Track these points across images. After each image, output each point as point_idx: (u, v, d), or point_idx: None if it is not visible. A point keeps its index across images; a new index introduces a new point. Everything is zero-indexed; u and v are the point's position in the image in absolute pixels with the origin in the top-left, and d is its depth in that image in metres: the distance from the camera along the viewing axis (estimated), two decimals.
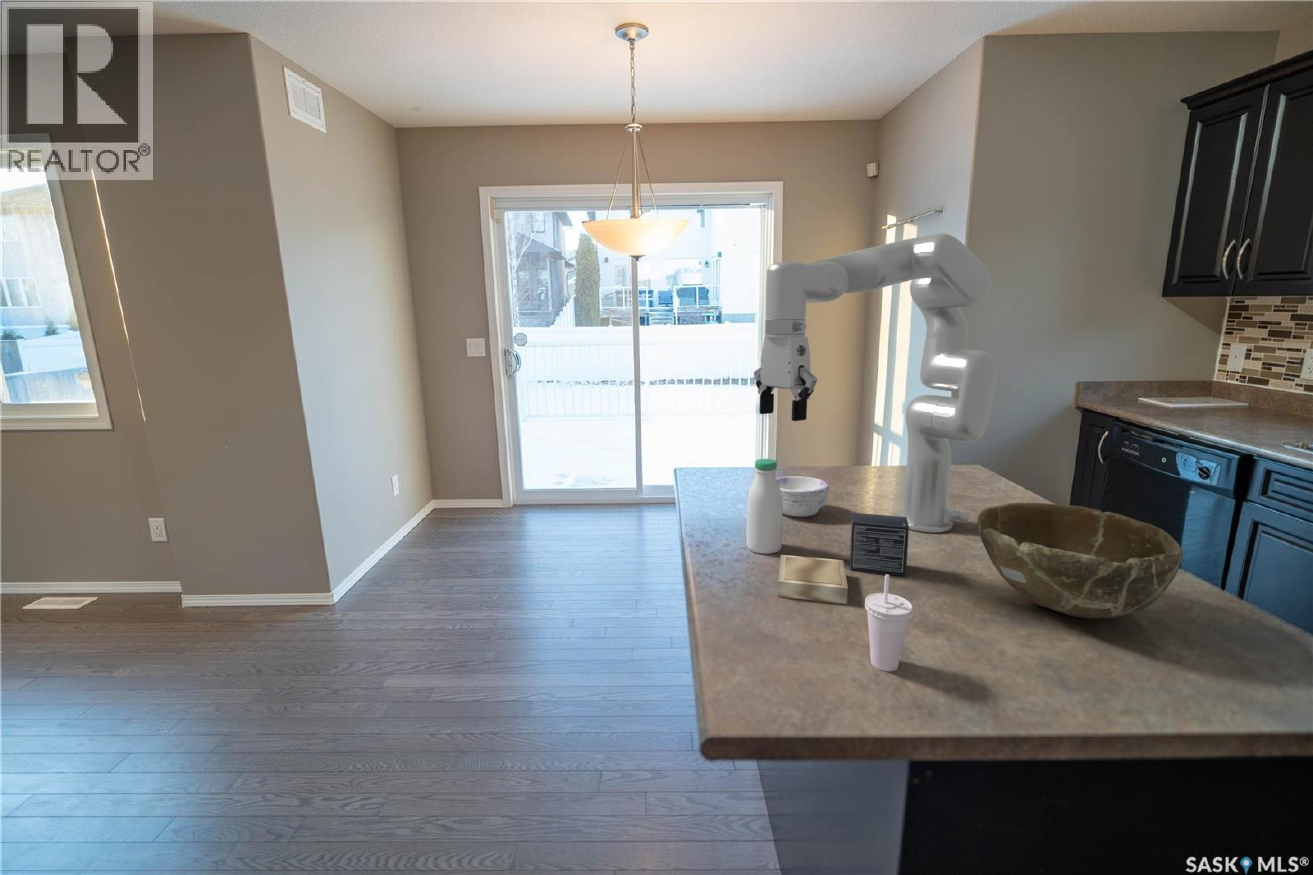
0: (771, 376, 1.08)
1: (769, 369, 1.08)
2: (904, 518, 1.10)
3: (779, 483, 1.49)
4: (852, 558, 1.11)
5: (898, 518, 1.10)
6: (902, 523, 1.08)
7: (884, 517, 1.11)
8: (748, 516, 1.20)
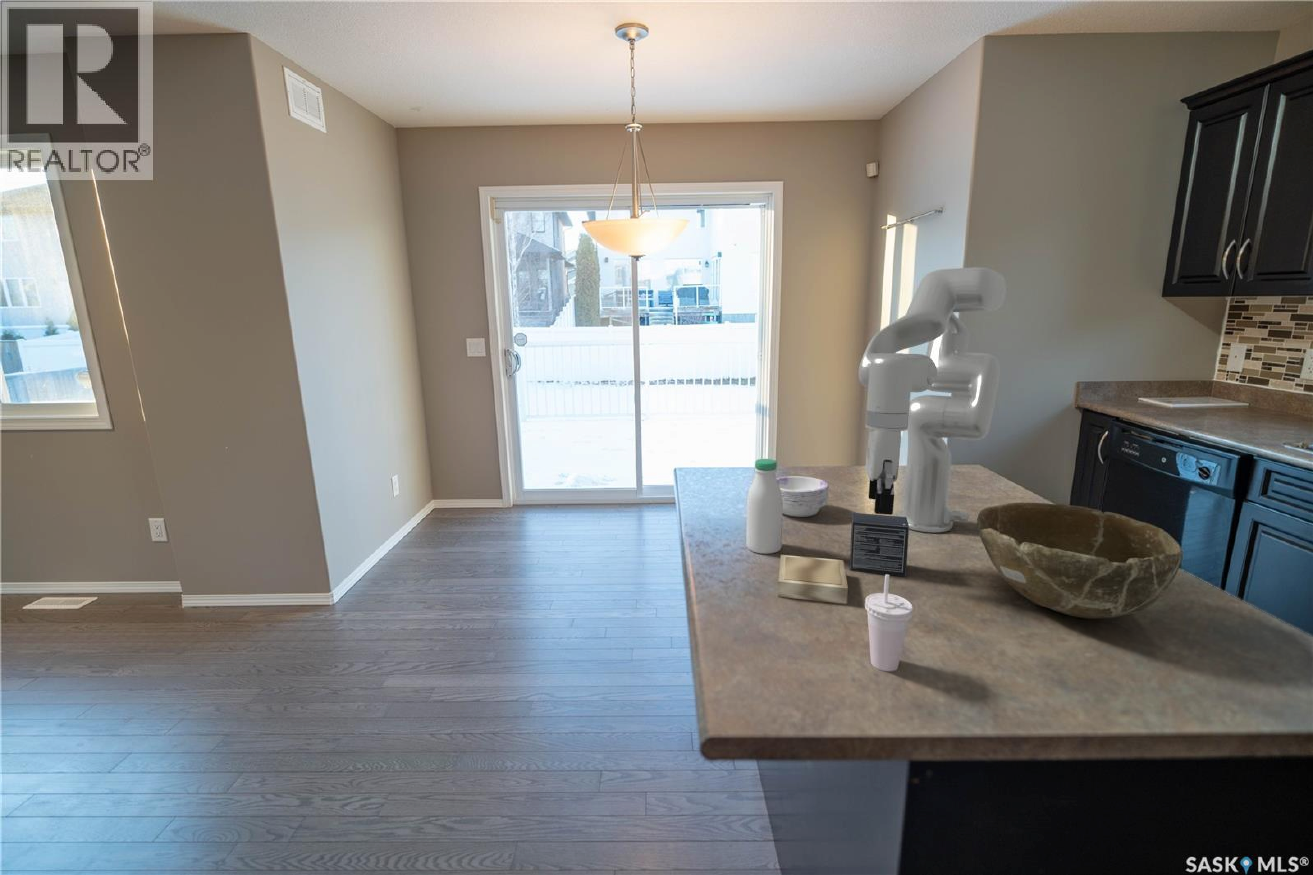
0: None
1: None
2: (904, 518, 1.10)
3: (779, 483, 1.49)
4: (852, 558, 1.11)
5: (898, 518, 1.10)
6: (902, 523, 1.08)
7: (884, 517, 1.11)
8: (748, 516, 1.20)
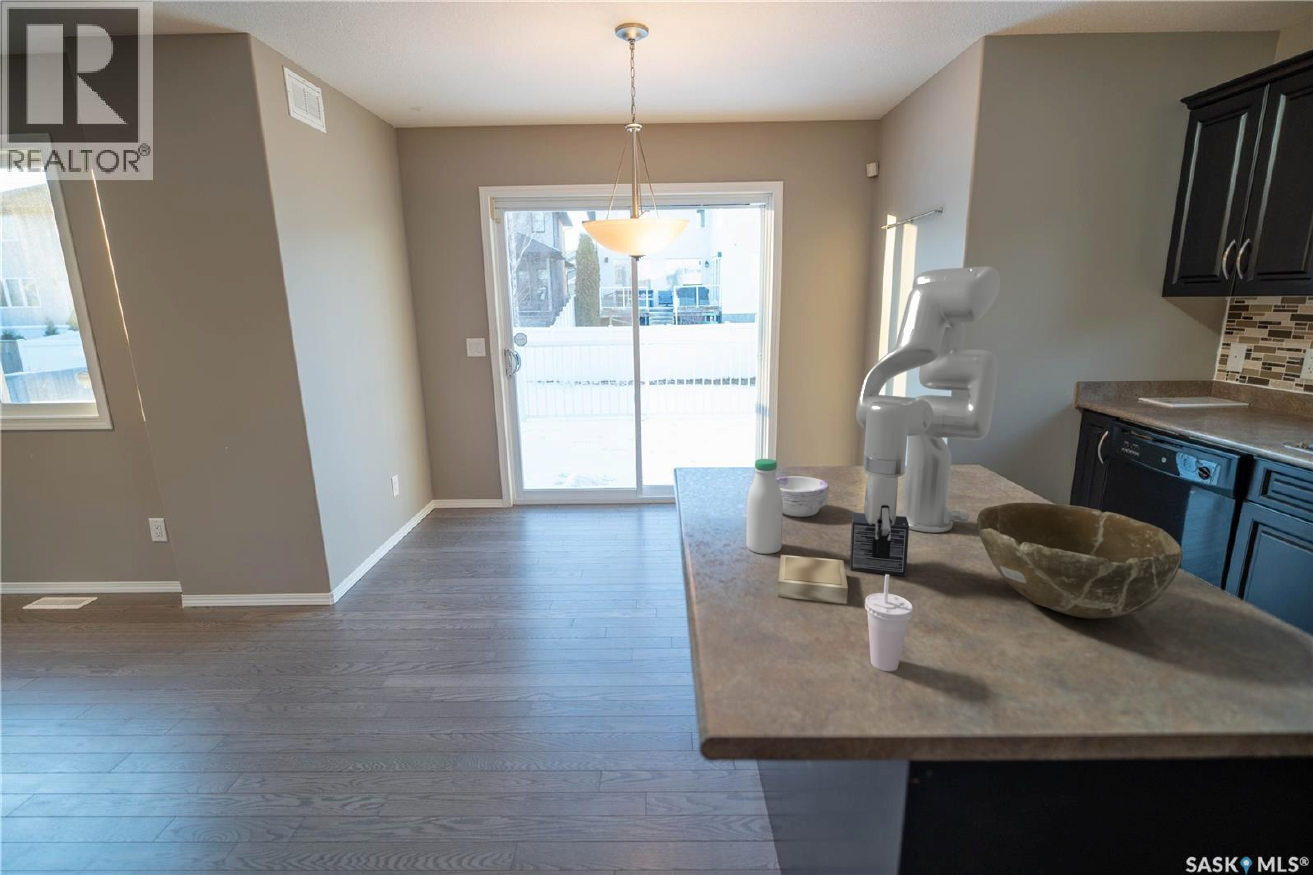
0: None
1: None
2: (904, 518, 1.10)
3: (779, 483, 1.49)
4: (852, 558, 1.11)
5: (898, 518, 1.10)
6: (902, 522, 1.08)
7: None
8: (748, 516, 1.20)
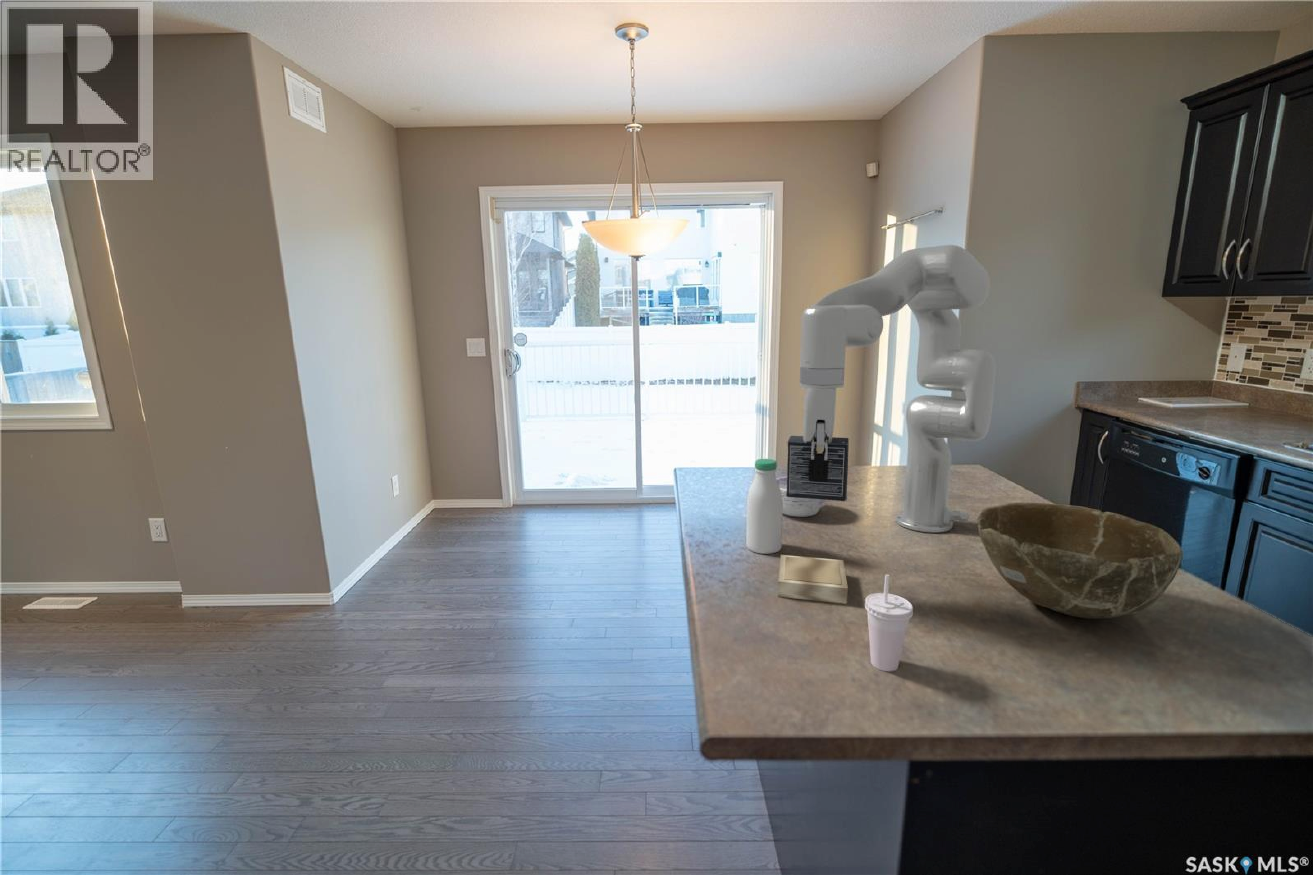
0: None
1: None
2: (845, 438, 1.00)
3: (779, 483, 1.49)
4: (788, 483, 1.00)
5: (839, 438, 1.00)
6: (842, 441, 0.97)
7: None
8: (748, 516, 1.20)
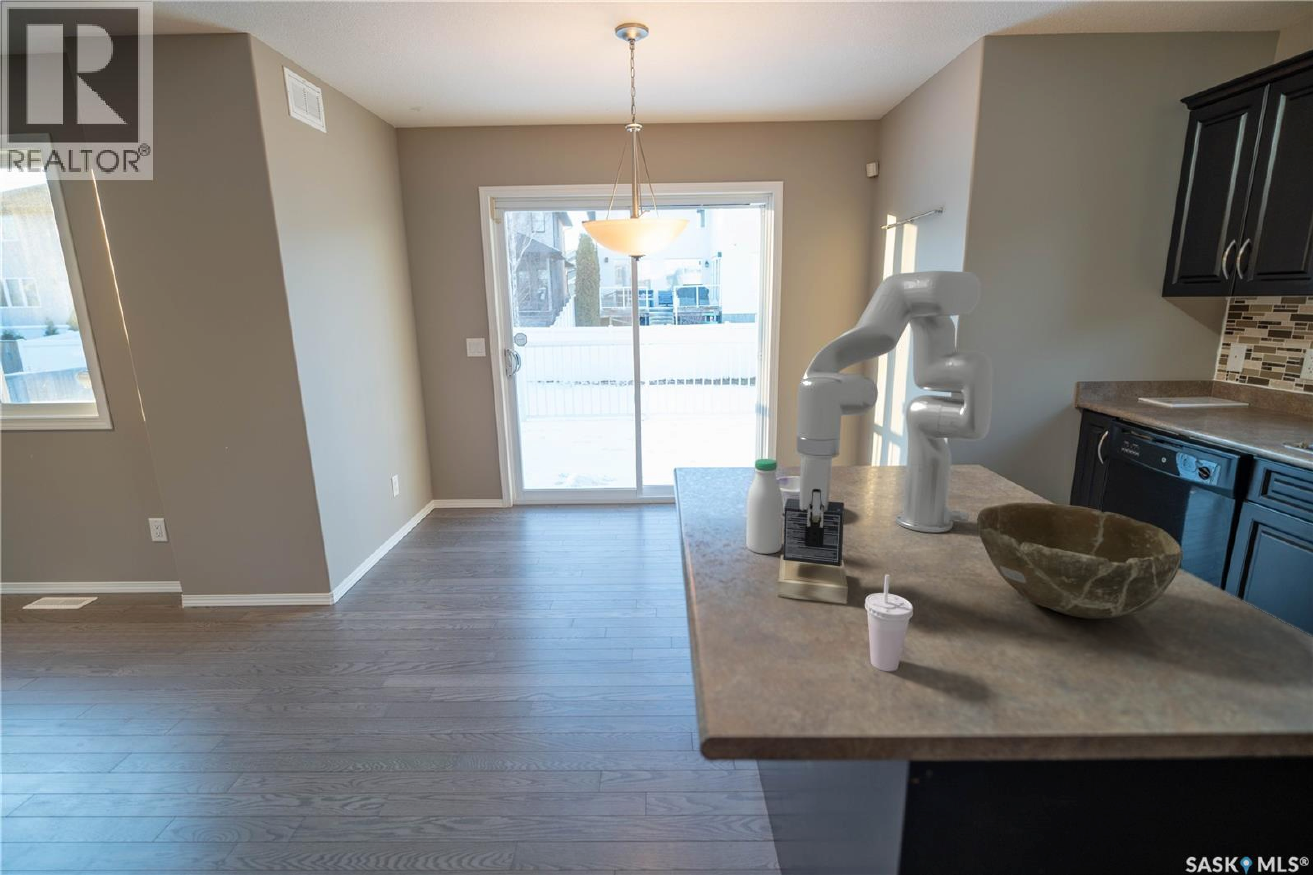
0: None
1: None
2: (841, 503, 1.02)
3: (779, 483, 1.49)
4: (784, 547, 1.02)
5: (834, 503, 1.02)
6: (837, 508, 0.99)
7: None
8: (748, 516, 1.20)
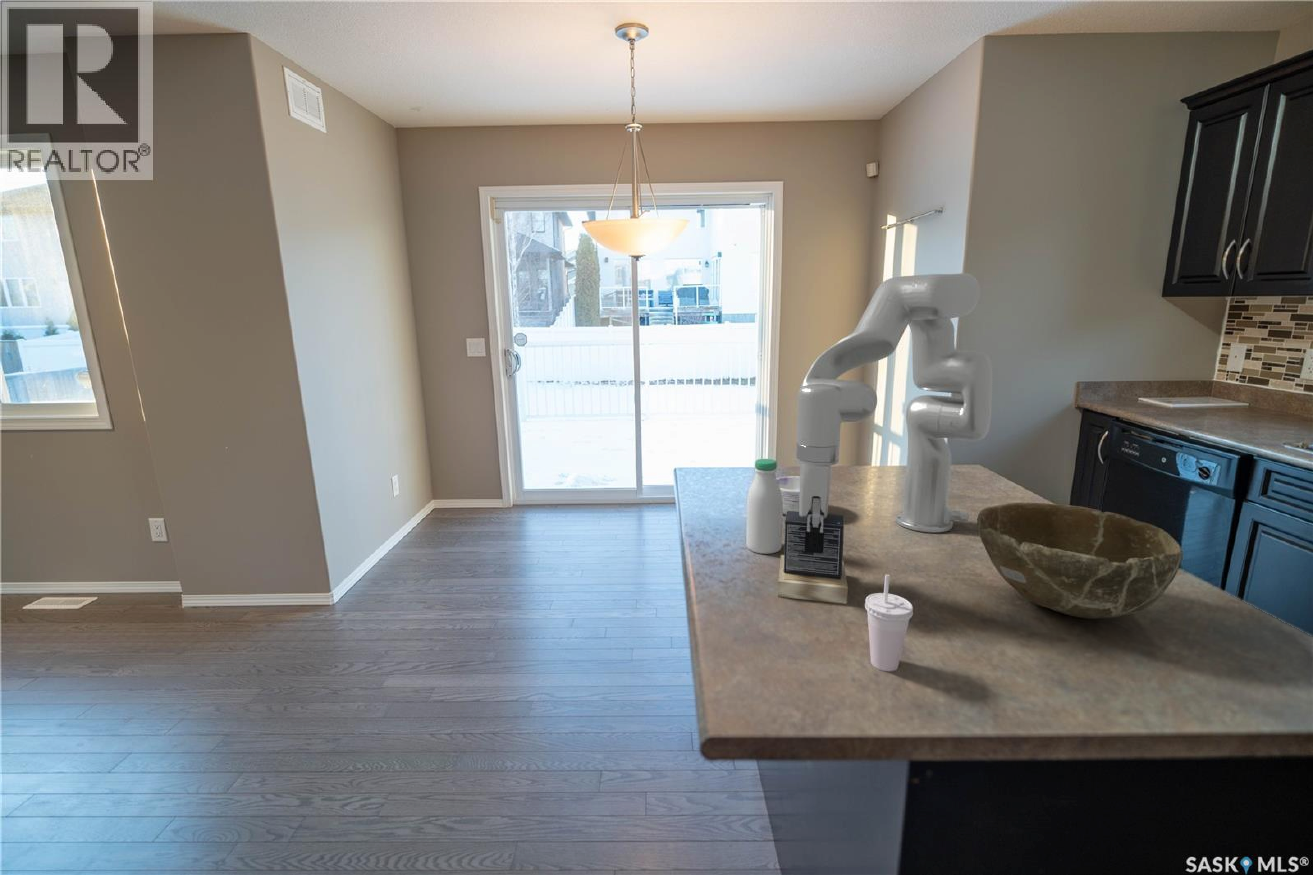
0: None
1: None
2: (841, 516, 1.03)
3: (779, 483, 1.49)
4: (785, 559, 1.03)
5: (834, 516, 1.03)
6: (837, 521, 1.00)
7: None
8: (748, 516, 1.20)
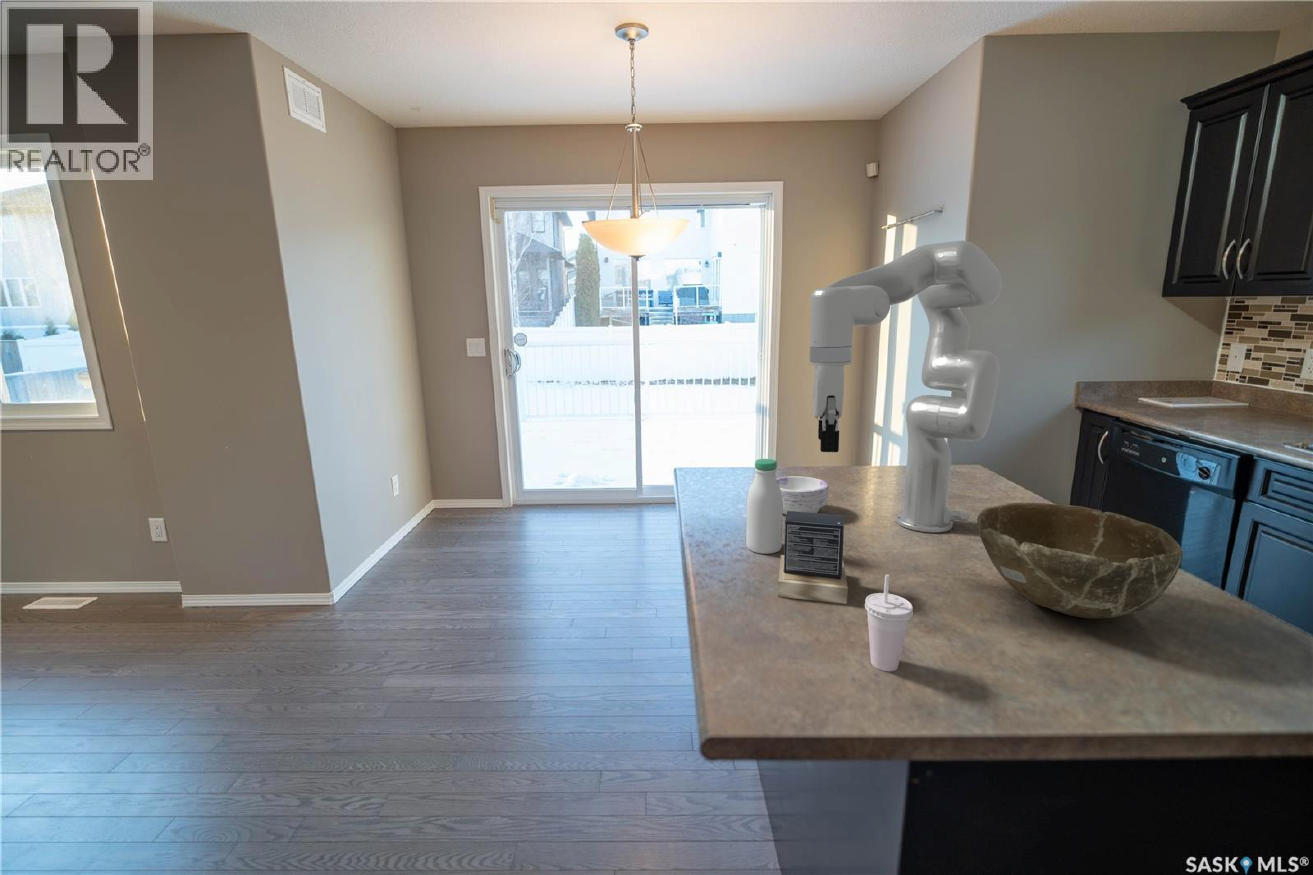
0: None
1: None
2: (841, 516, 1.03)
3: (779, 483, 1.49)
4: (785, 559, 1.03)
5: (834, 516, 1.03)
6: (837, 521, 1.00)
7: (820, 515, 1.03)
8: (748, 516, 1.20)
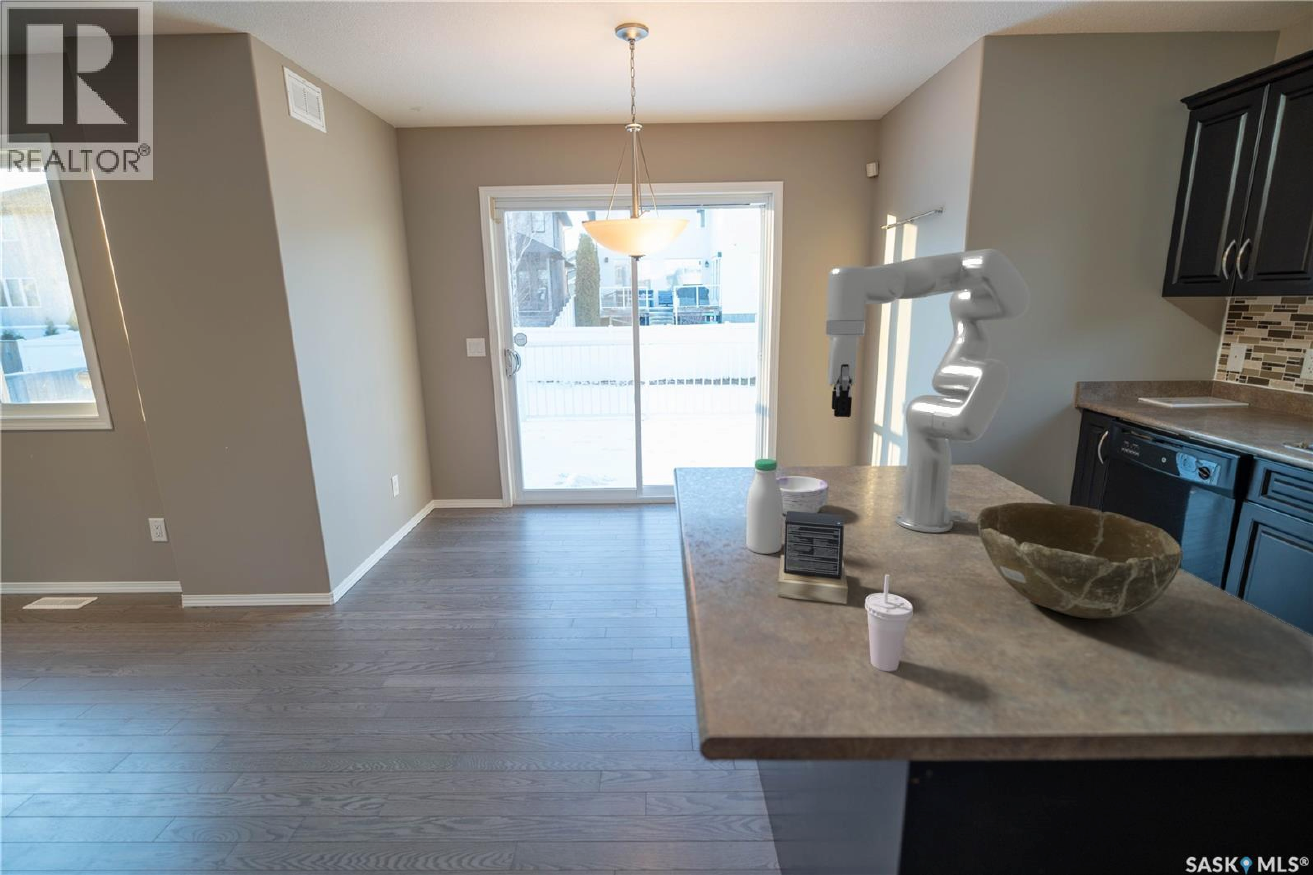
0: None
1: None
2: (841, 516, 1.03)
3: (779, 483, 1.49)
4: (785, 559, 1.03)
5: (834, 516, 1.03)
6: (837, 521, 1.00)
7: (820, 515, 1.03)
8: (748, 516, 1.20)
